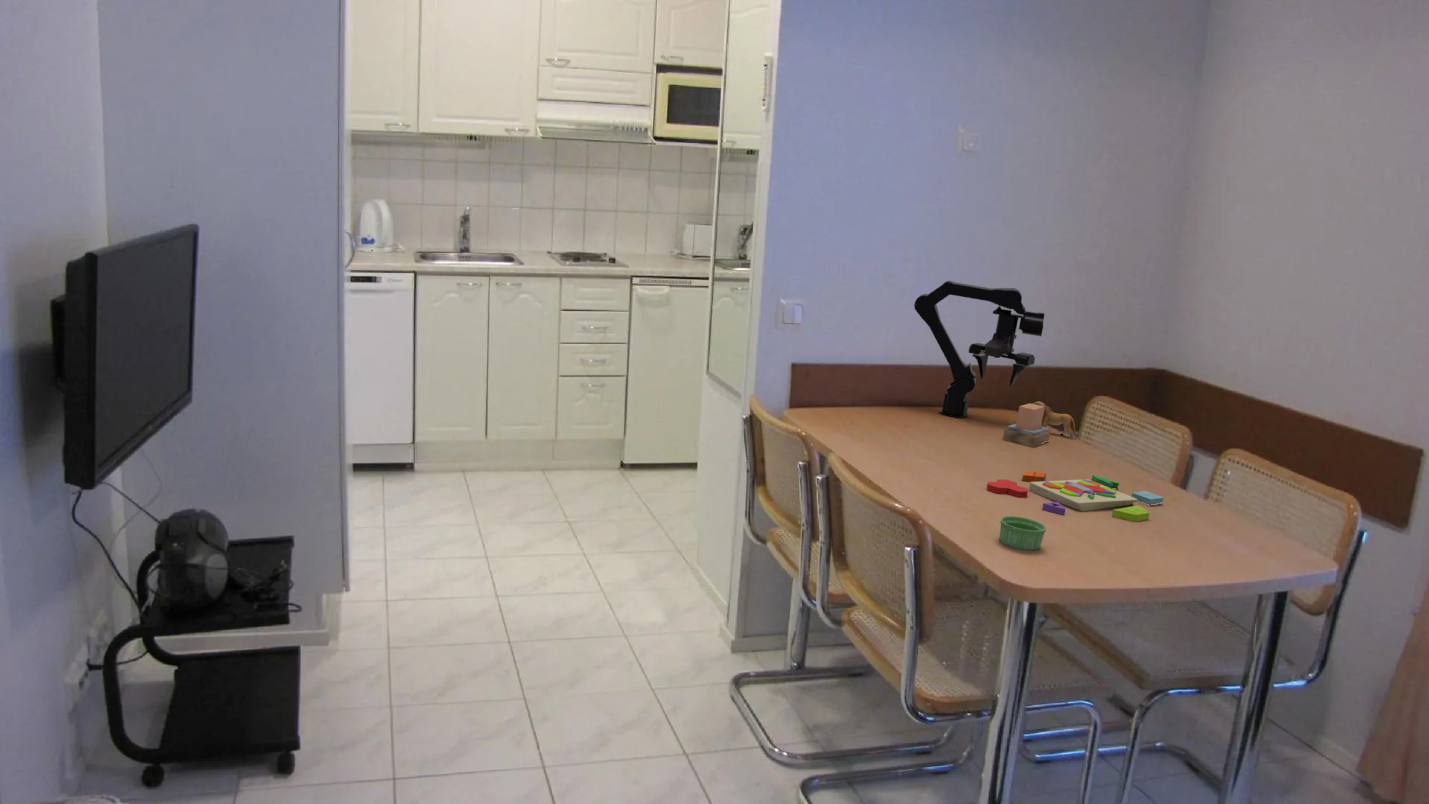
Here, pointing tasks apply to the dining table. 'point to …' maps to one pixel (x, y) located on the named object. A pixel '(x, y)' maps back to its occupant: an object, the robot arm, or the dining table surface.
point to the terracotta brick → (1030, 416)
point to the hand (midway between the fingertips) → (996, 382)
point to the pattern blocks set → (1079, 495)
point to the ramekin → (1021, 532)
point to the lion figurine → (1057, 419)
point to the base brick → (1026, 435)
